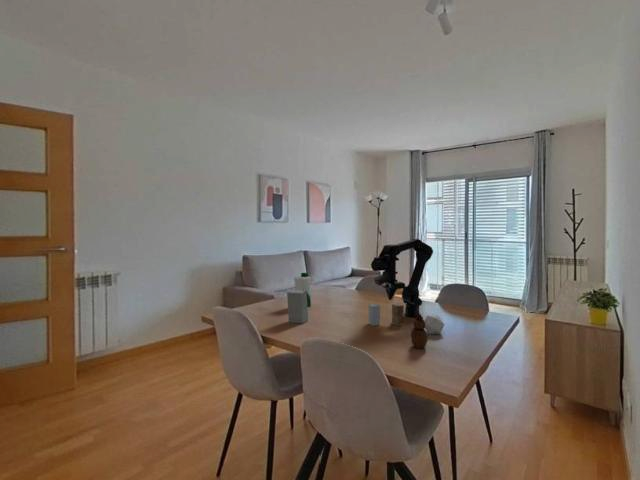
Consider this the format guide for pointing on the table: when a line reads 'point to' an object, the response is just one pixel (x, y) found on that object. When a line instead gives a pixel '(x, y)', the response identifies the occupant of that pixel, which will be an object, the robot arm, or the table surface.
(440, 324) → the die
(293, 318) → the skincare box
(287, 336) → the table surface
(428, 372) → the table surface
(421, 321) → the wooden figurine
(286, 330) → the table surface
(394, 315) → the walnut block
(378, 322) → the blue-grey block
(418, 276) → the robot arm
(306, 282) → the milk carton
